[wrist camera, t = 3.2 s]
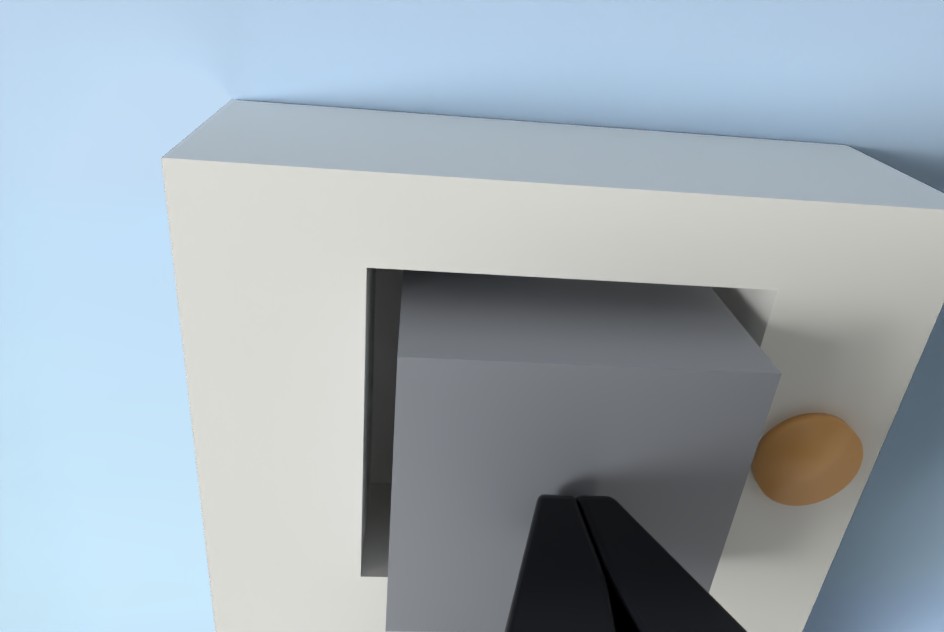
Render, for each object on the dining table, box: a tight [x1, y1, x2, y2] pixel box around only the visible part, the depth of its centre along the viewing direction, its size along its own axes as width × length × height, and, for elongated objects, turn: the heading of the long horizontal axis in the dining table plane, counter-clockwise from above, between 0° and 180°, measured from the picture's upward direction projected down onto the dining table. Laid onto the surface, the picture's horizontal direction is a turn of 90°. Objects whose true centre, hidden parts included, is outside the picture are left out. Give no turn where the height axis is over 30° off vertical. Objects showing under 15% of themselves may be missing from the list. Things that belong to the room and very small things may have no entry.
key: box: [385, 270, 781, 632], centre depth 10 cm, size 4×4×3 cm
